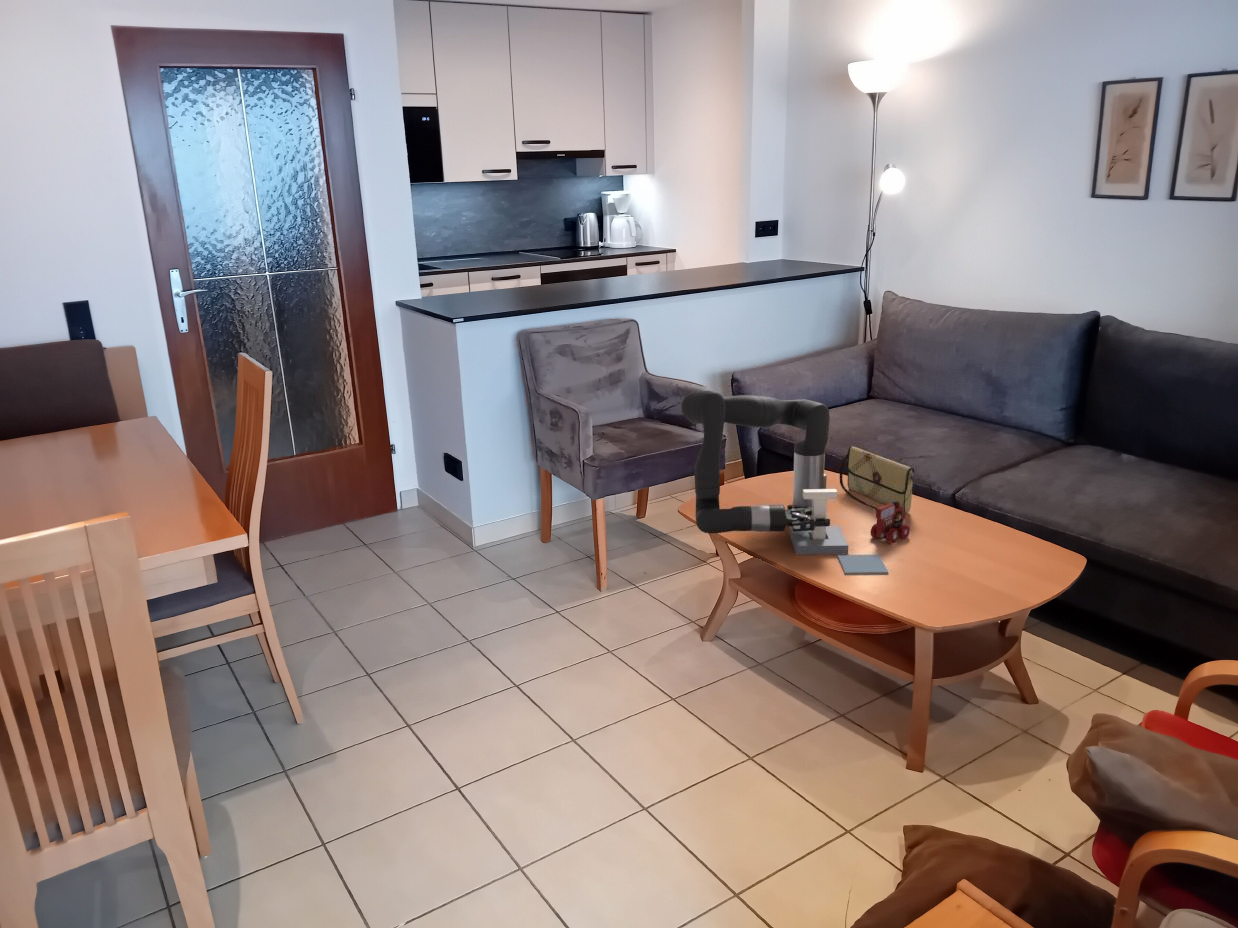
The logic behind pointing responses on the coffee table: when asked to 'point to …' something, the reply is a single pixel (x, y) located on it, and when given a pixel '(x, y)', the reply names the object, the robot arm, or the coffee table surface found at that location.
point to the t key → (819, 507)
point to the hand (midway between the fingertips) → (827, 517)
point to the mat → (862, 564)
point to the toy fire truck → (890, 523)
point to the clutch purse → (878, 478)
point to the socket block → (819, 542)
